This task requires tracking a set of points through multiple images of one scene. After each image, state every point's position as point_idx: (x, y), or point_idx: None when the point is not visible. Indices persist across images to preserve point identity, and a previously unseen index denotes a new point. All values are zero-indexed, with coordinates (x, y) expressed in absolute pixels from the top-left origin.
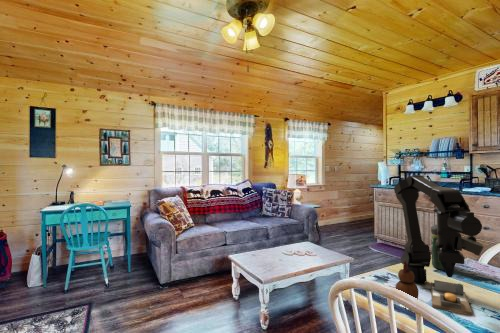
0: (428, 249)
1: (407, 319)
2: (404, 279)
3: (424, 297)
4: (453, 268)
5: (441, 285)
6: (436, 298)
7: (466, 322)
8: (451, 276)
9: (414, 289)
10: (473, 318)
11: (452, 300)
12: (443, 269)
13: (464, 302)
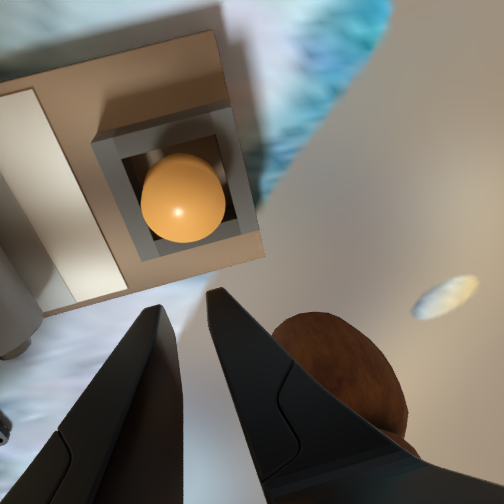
0: None
1: (465, 283)
2: None
3: None
4: (302, 371)
5: (4, 298)
6: (158, 261)
7: (345, 48)
8: (230, 296)
9: (369, 379)
10: (252, 12)
11: (216, 174)
12: None
13: (60, 103)
